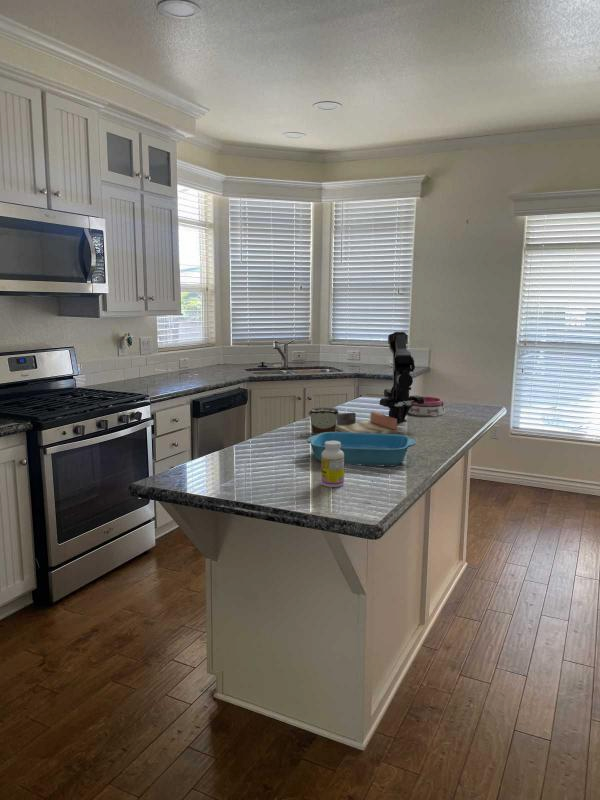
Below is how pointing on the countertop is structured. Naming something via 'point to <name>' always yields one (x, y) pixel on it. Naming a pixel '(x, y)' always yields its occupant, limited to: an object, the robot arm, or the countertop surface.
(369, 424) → the latch board
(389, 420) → the latch bar
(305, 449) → the countertop surface
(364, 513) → the countertop surface
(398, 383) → the robot arm
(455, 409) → the countertop surface
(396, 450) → the casserole dish
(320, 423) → the food container
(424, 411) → the dog bowl
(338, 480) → the supplement bottle
